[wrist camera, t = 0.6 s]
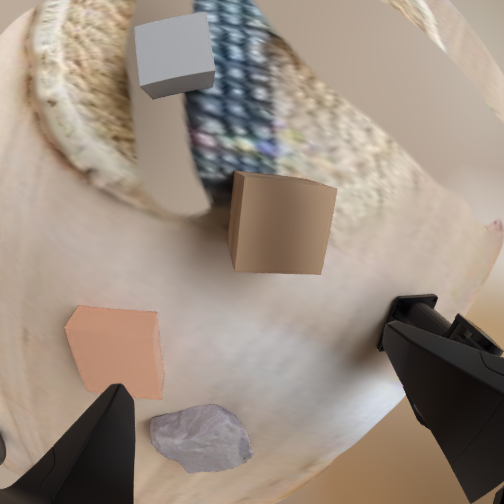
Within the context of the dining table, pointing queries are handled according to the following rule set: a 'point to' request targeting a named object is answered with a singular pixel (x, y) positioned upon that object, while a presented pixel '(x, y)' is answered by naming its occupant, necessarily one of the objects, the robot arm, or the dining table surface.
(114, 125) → the dining table surface
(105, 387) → the terracotta block
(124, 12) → the dining table surface
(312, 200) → the walnut cube
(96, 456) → the robot arm
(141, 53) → the grey block
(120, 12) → the dining table surface
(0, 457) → the decorative ball
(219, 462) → the stone block
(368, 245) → the dining table surface
